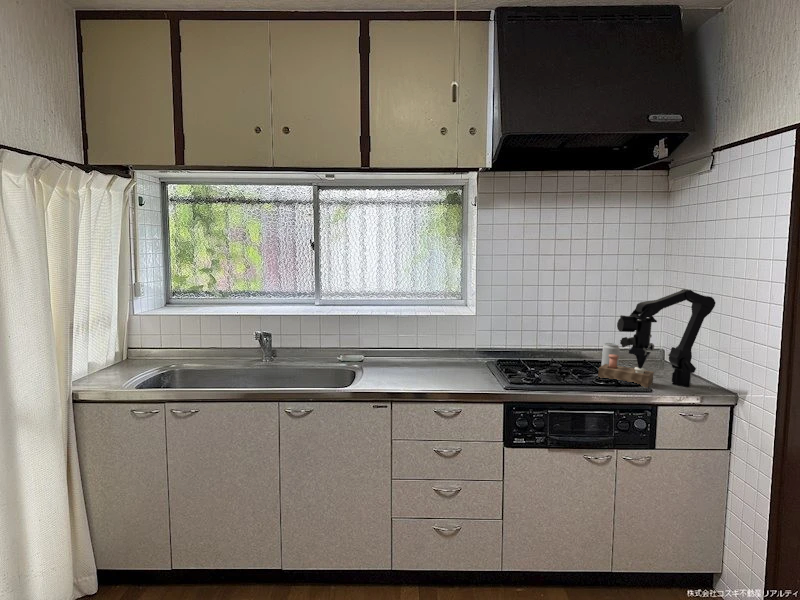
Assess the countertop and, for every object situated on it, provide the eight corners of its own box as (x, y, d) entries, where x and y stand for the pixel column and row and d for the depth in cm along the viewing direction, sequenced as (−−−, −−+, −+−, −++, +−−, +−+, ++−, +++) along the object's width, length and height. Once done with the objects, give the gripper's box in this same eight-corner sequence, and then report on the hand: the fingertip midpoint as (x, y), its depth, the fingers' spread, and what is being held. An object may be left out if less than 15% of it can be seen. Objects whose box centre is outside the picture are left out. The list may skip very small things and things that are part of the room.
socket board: (652, 383, 221) (653, 371, 221) (647, 387, 214) (648, 375, 213) (604, 374, 234) (605, 363, 233) (597, 378, 226) (598, 367, 225)
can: (615, 371, 241) (617, 345, 240) (599, 368, 246) (601, 343, 245) (619, 368, 247) (621, 343, 246) (603, 365, 252) (605, 341, 251)
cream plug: (645, 382, 221) (646, 368, 220) (642, 384, 217) (644, 370, 217) (634, 380, 223) (635, 366, 222) (632, 382, 220) (633, 368, 219)
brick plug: (619, 368, 227) (620, 355, 226) (616, 370, 223) (617, 356, 223) (609, 367, 229) (610, 353, 229) (606, 368, 226) (607, 355, 225)
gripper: (628, 327, 230) (625, 361, 232) (617, 332, 215) (614, 368, 217) (655, 330, 223) (652, 366, 225) (646, 335, 209) (642, 373, 210)
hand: (640, 368), depth 220 cm, fingers closed, pressing on cream plug
